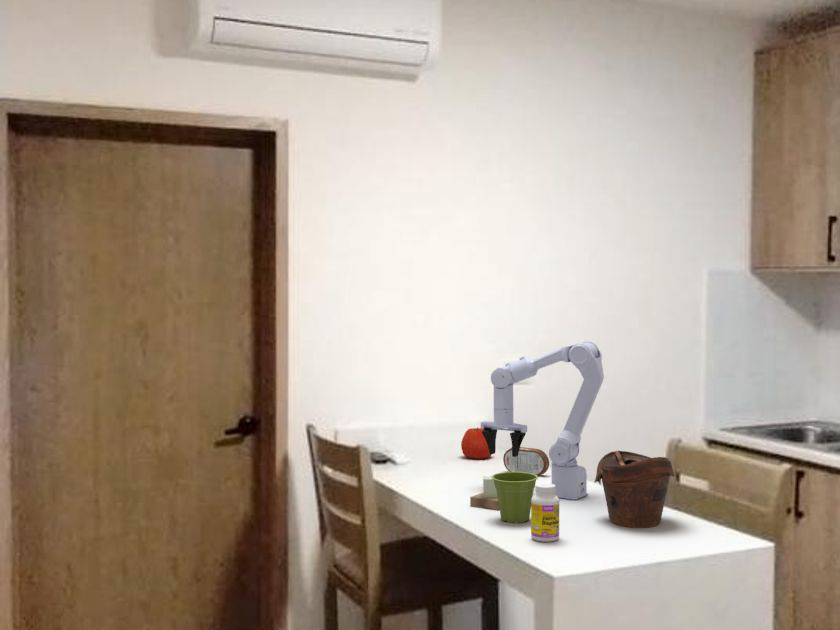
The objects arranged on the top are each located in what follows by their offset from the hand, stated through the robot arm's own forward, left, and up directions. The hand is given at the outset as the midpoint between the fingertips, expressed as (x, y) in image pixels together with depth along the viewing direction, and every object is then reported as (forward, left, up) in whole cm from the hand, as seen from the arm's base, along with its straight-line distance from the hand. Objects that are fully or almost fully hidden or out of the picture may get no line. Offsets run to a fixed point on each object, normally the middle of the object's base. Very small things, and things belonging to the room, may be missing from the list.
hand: (503, 455), depth 290 cm
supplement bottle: (-35, +41, -10) cm, 55 cm away
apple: (+33, -39, -10) cm, 52 cm away
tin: (+6, -23, -10) cm, 26 cm away
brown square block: (-7, +18, -11) cm, 22 cm away
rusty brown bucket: (-46, +14, -10) cm, 49 cm away
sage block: (-7, +18, -8) cm, 21 cm away
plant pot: (-20, +29, -10) cm, 37 cm away
